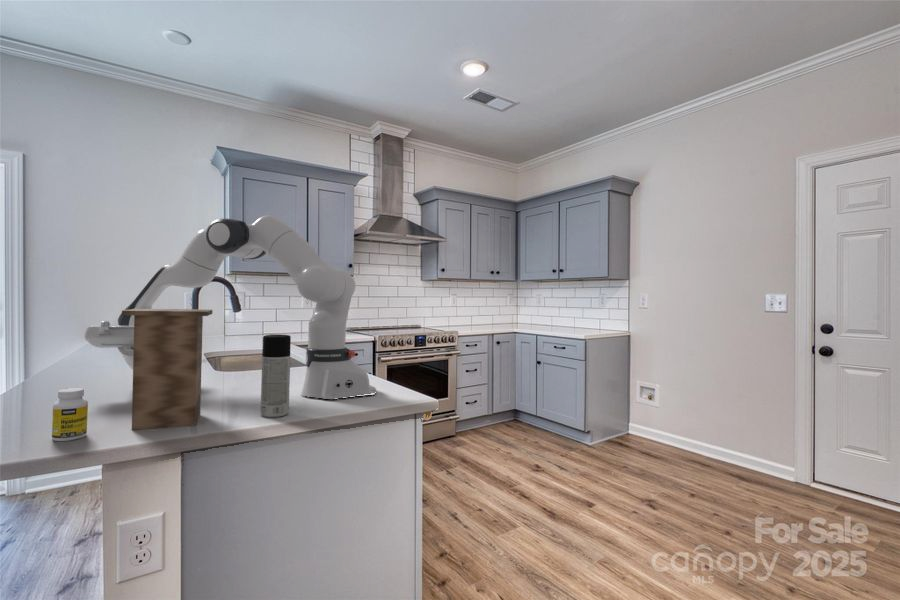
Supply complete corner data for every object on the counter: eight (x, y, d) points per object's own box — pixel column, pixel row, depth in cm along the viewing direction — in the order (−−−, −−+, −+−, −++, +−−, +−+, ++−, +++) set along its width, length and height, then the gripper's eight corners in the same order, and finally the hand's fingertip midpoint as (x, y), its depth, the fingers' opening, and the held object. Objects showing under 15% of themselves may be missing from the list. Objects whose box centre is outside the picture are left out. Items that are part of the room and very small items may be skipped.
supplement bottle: (57, 443, 85) (58, 393, 85) (47, 438, 88) (48, 390, 88) (91, 436, 90) (92, 389, 90) (81, 431, 93) (82, 385, 93)
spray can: (293, 411, 113) (295, 334, 113) (280, 419, 106) (283, 337, 106) (269, 410, 114) (271, 333, 113) (254, 417, 107) (257, 336, 107)
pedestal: (209, 413, 109) (212, 309, 109) (204, 425, 99) (207, 311, 99) (133, 418, 103) (135, 308, 103) (119, 432, 93) (121, 310, 93)
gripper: (94, 335, 125) (79, 312, 114) (177, 334, 134) (171, 313, 123) (90, 355, 123) (74, 334, 112) (175, 353, 131) (168, 334, 120)
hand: (126, 323), depth 117 cm, fingers open, 8 cm apart
